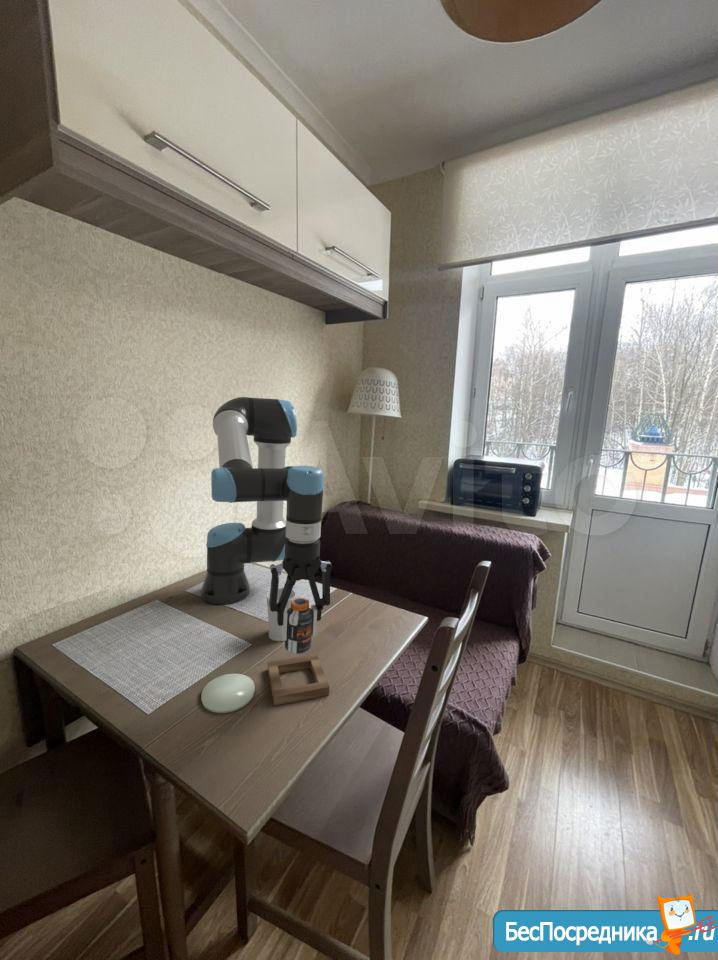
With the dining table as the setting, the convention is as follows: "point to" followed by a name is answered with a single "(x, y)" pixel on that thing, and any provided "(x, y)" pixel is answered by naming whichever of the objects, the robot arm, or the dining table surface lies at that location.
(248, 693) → the pale green rounded part
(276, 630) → the cup
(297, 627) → the pill bottle
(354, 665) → the dining table surface
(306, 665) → the open wooden frame
